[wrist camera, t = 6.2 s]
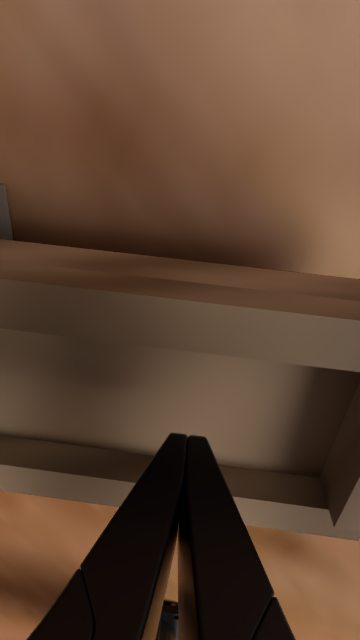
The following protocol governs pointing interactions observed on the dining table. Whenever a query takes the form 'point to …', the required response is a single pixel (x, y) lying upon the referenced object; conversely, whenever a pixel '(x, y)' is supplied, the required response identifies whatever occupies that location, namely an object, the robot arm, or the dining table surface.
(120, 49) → the dining table surface
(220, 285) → the beam
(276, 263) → the dining table surface
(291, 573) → the dining table surface
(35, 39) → the dining table surface
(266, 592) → the robot arm
